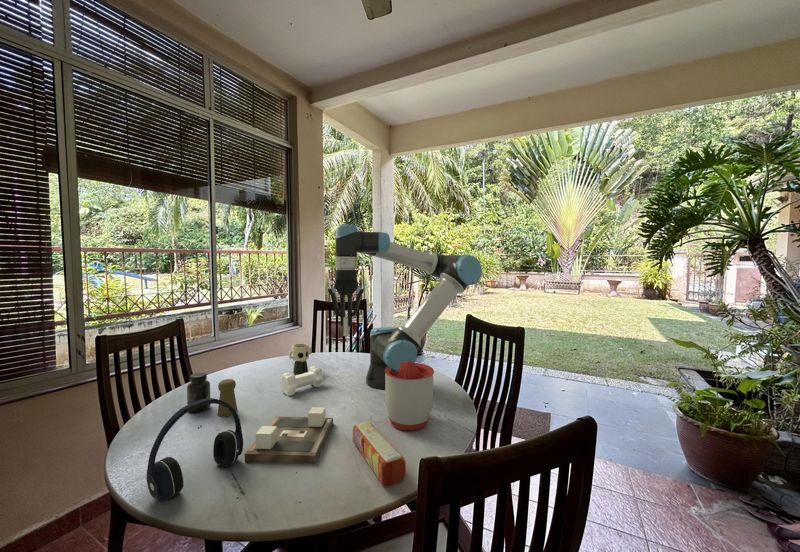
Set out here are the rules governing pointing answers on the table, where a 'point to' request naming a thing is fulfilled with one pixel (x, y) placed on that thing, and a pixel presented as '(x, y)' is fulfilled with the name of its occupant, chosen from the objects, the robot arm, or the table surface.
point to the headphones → (167, 471)
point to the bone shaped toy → (301, 380)
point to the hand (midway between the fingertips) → (346, 335)
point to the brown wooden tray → (293, 441)
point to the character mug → (300, 357)
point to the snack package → (379, 454)
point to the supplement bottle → (198, 391)
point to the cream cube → (266, 437)
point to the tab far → (316, 416)
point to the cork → (227, 397)
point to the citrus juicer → (409, 395)
